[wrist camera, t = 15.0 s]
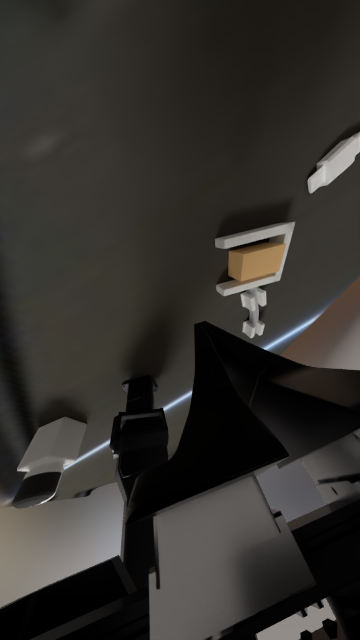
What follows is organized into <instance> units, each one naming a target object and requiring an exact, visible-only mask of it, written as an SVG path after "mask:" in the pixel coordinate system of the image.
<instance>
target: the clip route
mask: <svg viewBox="0 0 360 640" xmlns="http://www.w3.org/2000/svg"><path fill="white" fill-rule="evenodd" d="M241 300H242V306H243V307H244V306H245V307H246V308H248V309H249V311H250V318H249V320H248V321H245V322H243V330H242V332H245V333H246V334H247V335H248V336H249V337H250V338H253V337H254V335H255V332H256V333H257V334H258V335H262V333H263V329H264V325H265V324H264V323H262V322H261V321H260V320H258V318H259V310H258V304H259V305H261V306H264V305H266V291H264V290H262V289H260V288H258V287H254V288H251V289H247V291H246V292H244V293H242V294H241Z"/></svg>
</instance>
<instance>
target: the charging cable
mask: <svg viewBox="0 0 360 640" xmlns="http://www.w3.org/2000/svg"><path fill="white" fill-rule="evenodd" d="M359 152H360V132H359V133H357V134H354V135H353V136H352V137H350V138H348V139H345V140H343V141H341V142H340V143H338V144H337V145H336V146H335V147H334V148H333V149H332V150H331V151H330V152H329V153H328V154H327V155H326V156H325V157H323V158H322V159H321V160H320V161H319V162H318V163H317V171H316V172H315V173H314V174H313V175H312V176H311V177H310V178H309V179H308V189H309V192H310V193H313V192H314V191H315V190H316V189H317V188H318V187H320V186H325V185H328V184H329V183H330V182H332V181H333V180H334V179H335V178H336V177H337V176H338V175H340V174H341V173H342V172H343V171H344V170H345V169H346V168H348V167H349V166H350V165H351V164H352V163H353V162H354V159H355V155H357V154H358V153H359Z"/></svg>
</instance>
